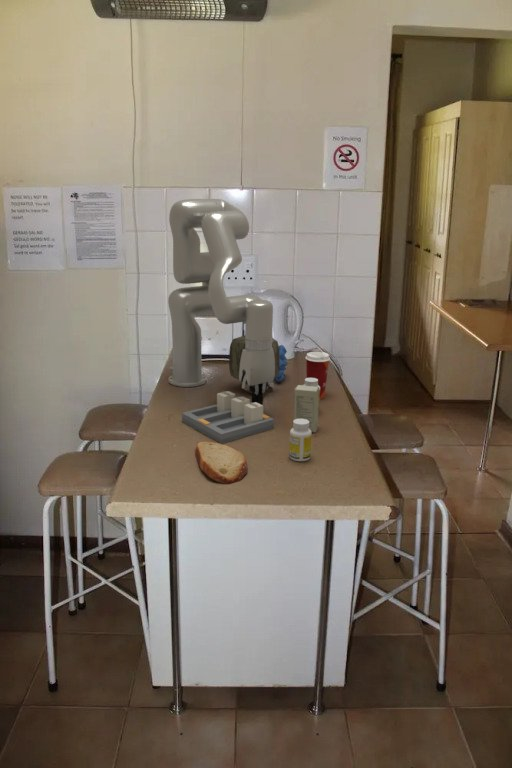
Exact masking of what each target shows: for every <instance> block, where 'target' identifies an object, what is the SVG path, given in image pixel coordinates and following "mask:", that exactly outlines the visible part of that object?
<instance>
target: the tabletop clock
mask: <svg viewBox="0 0 512 768" xmlns="http://www.w3.org/2000/svg"><path fill="white" fill-rule="evenodd" d="M279 346H280V345H279V342H278V340H277V339H275V338H274V342H272V348H273V351H274V358H275V376H274V379H273V380H276V379H275V378H276V377H277V375H278V371H279V363H280V353H279ZM243 349H245V335H242V336H238V337H236V338H233V339H232V341H231V343H230V346H229V352H228V353H229V354H228V355H229V356H228V357H229V358H228V363H229V364H228V367H229V374H230V377H232V378H234V379H236V380H239V369H240V360H241V355H242V351H243ZM242 383H243V382H241V384H242ZM267 388H268V390H267V391H268V392H270V393H271V392H273V391H274V387H272V386H270V385H268V386H267ZM245 391H246V392H247V393H251V392H250V390H245Z"/></svg>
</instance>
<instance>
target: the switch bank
mask: <svg viewBox="0 0 512 768" xmlns="http://www.w3.org/2000/svg"><path fill="white" fill-rule="evenodd" d="M181 418H182V419H181V422H182V423H184V424H185V425H187V426H188V427H190V428H192V429H194V430H196V431H198V432H200V433H202V434H203V435H205V436H207V437H209V438H210V439H212V440H213V441H216V442H217V443H220V444H225V443H229V442H231V441H236V440H239V439H242V437H243V438H245V437H249V436H252V435H255V434H259V433H262V432H266V431H269V430H273V429H274V428H275V419H274V418H272V417H270V416H268V415H267V414H265V413H263V420H261V421H258V422H254V423H251V424H247V425H246V424H244V415H243V416H239V417H235V418H232V417H231V409H229V410H226V411H222V412H217V403H216V404H213V405H209V406H205V407H200V408H197V409H192V410H189V411H184V412H182V413H181Z"/></svg>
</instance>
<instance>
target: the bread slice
mask: <svg viewBox="0 0 512 768" xmlns="http://www.w3.org/2000/svg"><path fill="white" fill-rule="evenodd" d="M194 451H195V454H194V455H195V458H196V460H197V463H198V465H199V469H200V470H201V472H203V473H204V474H205V475H206V476H207V477H208V478H210V479H212V481H215V482H217V483H221V484H224V485H231V484H235V483H238V482H241V481H242V480H243V478H244V476H246V474H247V473H248V470H249V469H248V468H249V467H248V463H247V459H246V456H245V455H244V454H243V453H242V452H241V451H239V450H236V449H234V448H233V447H231V446H230V445H227V444H224V443H222V444H221V443H219V442H215V441H214V442H213V441H200V442H198V443H197V445H196V448H195V450H194Z"/></svg>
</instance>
